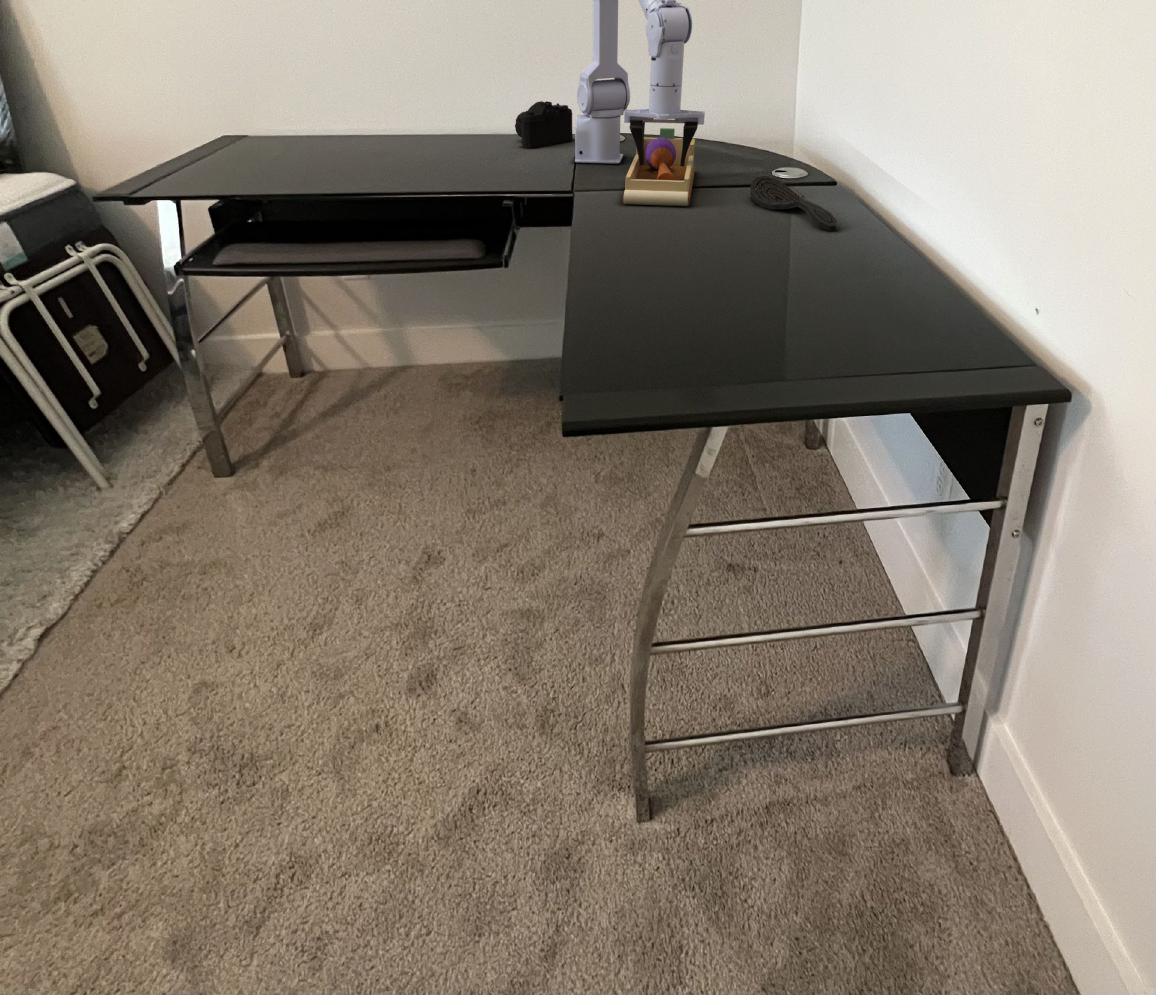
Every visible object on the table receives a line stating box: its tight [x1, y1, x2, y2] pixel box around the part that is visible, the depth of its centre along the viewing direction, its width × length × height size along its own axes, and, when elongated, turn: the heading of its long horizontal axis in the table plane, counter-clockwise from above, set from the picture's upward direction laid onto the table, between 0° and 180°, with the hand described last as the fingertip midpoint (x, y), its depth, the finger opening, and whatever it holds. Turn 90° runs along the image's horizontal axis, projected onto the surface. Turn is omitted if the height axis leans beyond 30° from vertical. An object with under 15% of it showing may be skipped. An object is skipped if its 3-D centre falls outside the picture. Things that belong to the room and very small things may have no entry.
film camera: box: [514, 100, 574, 149], centre depth 194 cm, size 15×10×9 cm, turn 133°
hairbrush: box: [749, 171, 838, 232], centre depth 145 cm, size 8×4×25 cm
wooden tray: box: [622, 127, 696, 207], centre depth 157 cm, size 27×12×8 cm, turn 171°
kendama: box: [645, 137, 676, 180], centre depth 158 cm, size 6×6×20 cm
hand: (661, 164), depth 158 cm, fingers open, 7 cm apart
